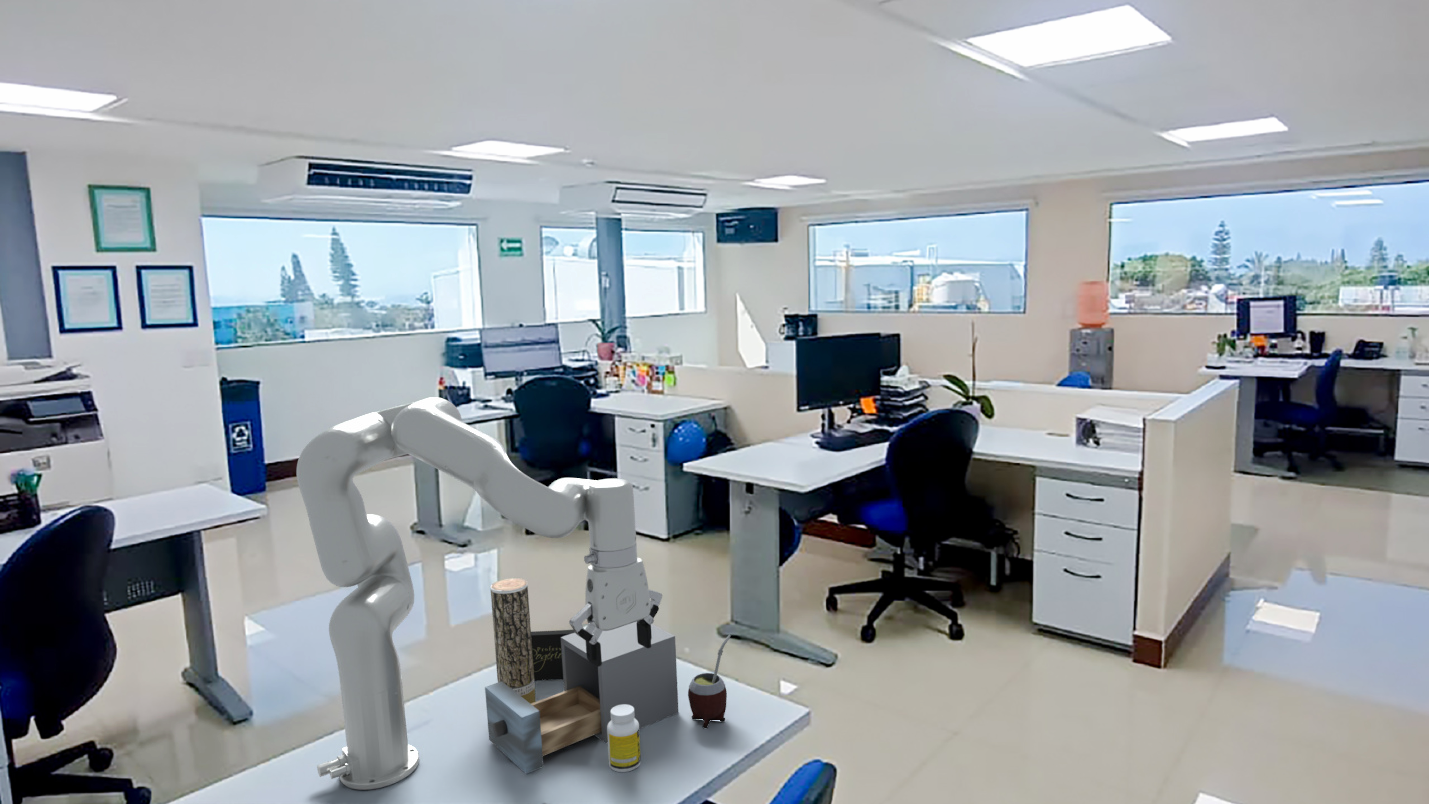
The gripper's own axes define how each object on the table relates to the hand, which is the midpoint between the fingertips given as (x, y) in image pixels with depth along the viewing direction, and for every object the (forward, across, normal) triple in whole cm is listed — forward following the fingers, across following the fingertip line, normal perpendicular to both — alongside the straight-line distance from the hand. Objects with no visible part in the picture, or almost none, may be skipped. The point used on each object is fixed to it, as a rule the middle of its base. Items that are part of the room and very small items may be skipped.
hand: (620, 654), depth 142 cm
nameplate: (+20, +9, +35) cm, 41 cm away
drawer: (+19, -7, +15) cm, 25 cm away
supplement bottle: (+20, 0, 0) cm, 20 cm away
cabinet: (+20, +9, +15) cm, 26 cm away
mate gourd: (+20, +20, +2) cm, 28 cm away
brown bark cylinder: (+20, -5, +30) cm, 36 cm away
